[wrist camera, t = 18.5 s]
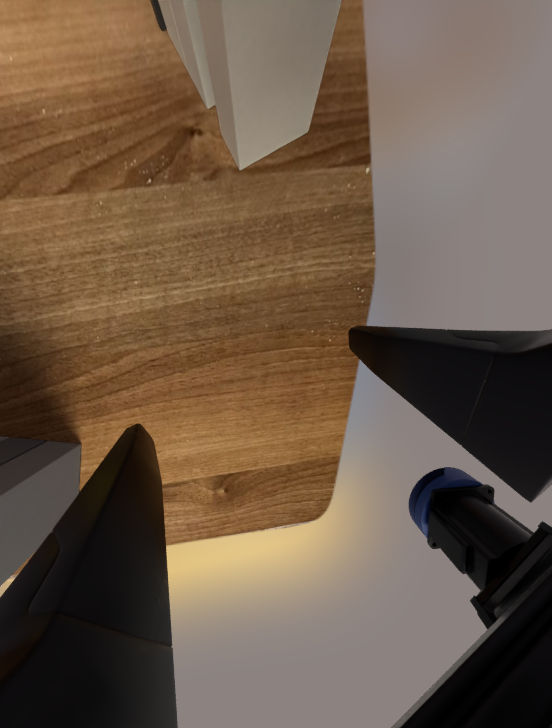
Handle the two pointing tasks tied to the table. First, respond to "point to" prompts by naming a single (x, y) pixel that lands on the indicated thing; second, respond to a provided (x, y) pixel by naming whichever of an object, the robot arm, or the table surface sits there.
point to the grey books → (33, 495)
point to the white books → (187, 41)
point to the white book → (265, 68)
